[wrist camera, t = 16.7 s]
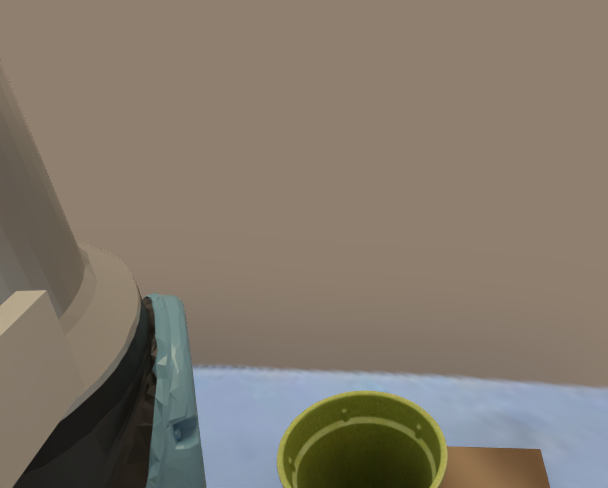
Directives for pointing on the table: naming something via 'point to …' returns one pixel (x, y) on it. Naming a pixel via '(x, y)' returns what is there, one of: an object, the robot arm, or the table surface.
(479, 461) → the walnut board
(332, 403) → the plant pot
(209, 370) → the table surface
